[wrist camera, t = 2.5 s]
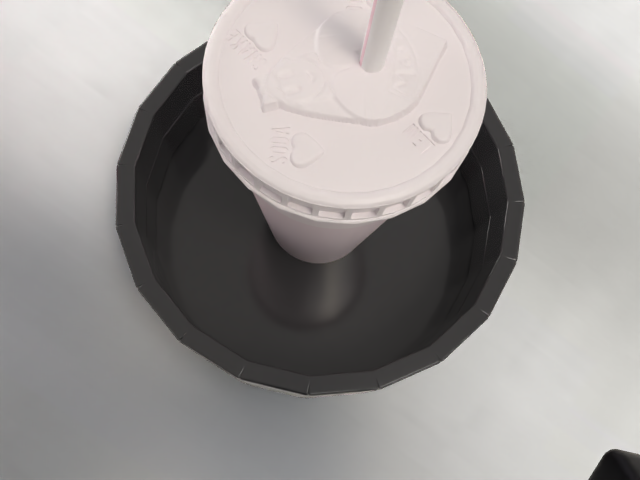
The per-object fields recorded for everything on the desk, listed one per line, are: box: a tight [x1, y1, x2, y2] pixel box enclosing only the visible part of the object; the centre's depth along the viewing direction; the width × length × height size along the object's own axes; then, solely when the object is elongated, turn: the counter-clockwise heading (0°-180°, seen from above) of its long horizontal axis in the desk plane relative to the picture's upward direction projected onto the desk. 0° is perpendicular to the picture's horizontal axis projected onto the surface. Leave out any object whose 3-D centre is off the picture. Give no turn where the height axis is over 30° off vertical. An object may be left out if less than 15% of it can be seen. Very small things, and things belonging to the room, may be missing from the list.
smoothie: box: [202, 0, 487, 263], centre depth 15 cm, size 6×6×14 cm
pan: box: [116, 41, 524, 398], centre depth 20 cm, size 13×13×4 cm
